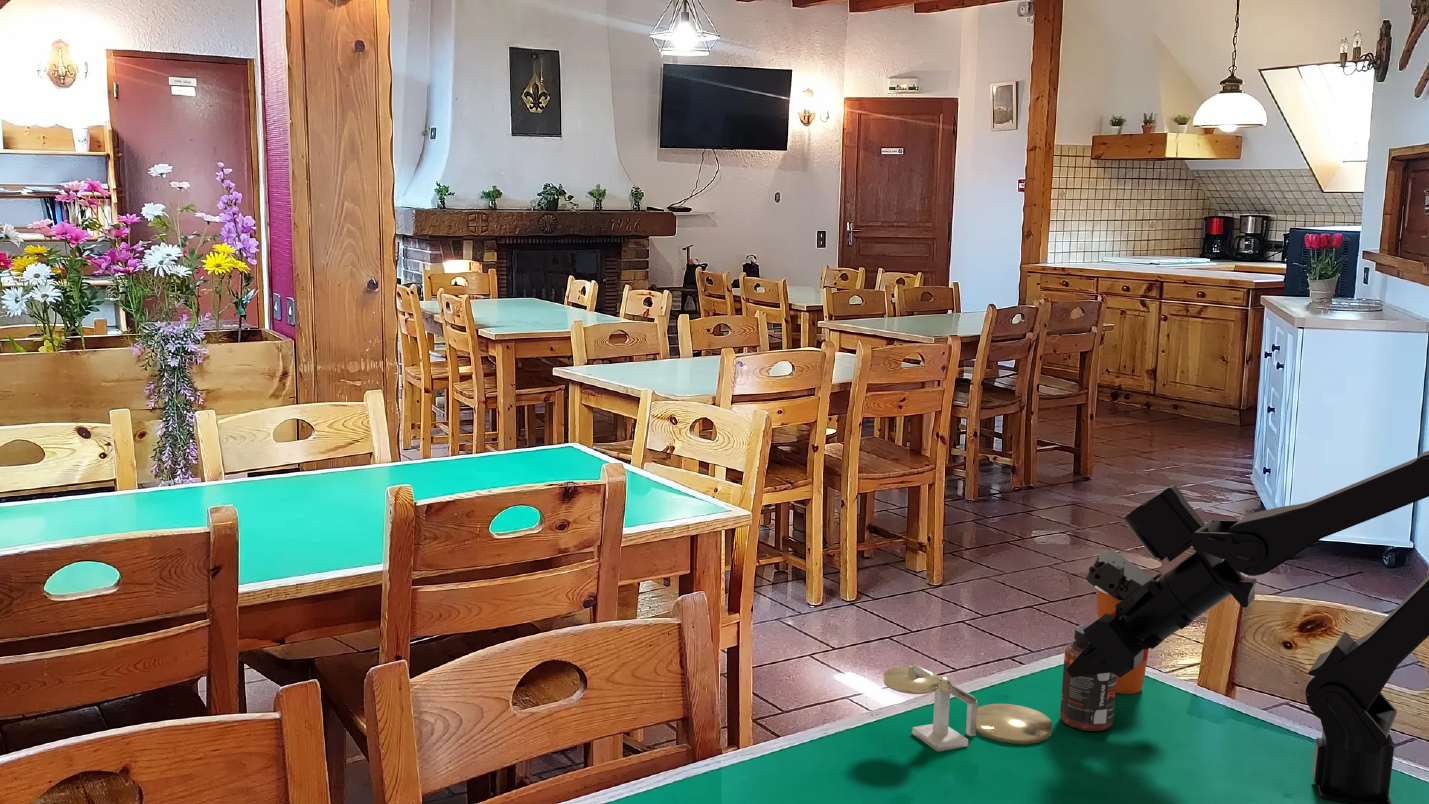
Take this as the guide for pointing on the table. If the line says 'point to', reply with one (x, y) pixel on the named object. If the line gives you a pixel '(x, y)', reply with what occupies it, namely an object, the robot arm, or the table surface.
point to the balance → (986, 720)
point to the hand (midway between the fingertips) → (1078, 665)
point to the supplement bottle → (1086, 692)
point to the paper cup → (1135, 677)
